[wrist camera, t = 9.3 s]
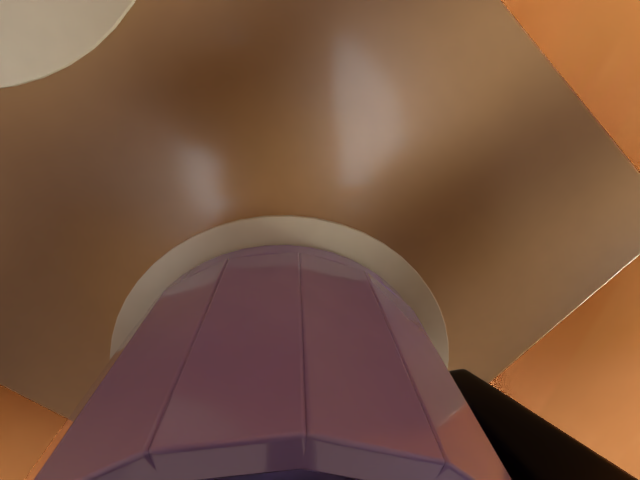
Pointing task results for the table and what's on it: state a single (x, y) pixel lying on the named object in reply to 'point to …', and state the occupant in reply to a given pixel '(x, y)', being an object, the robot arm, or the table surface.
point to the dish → (274, 384)
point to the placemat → (293, 169)
